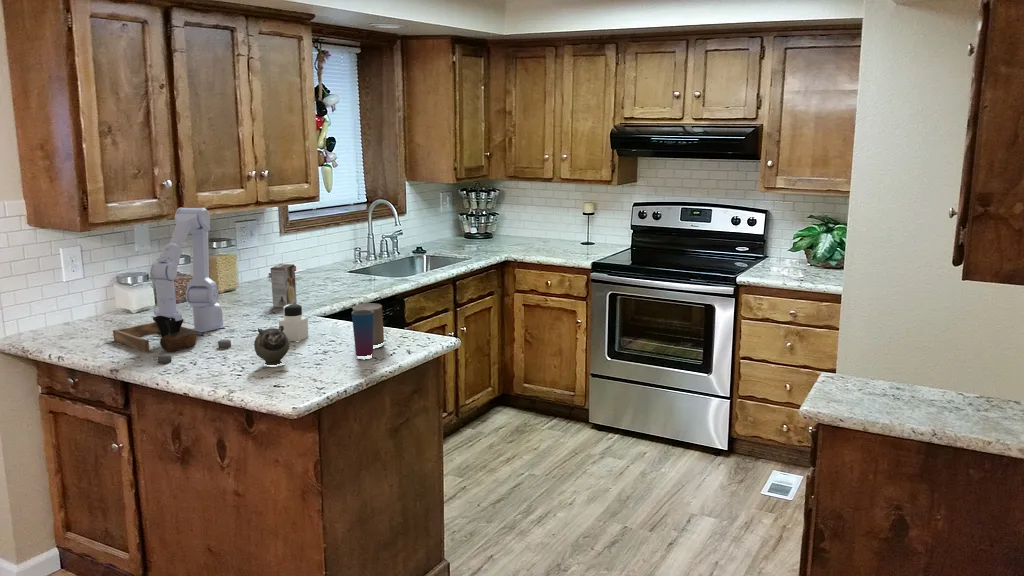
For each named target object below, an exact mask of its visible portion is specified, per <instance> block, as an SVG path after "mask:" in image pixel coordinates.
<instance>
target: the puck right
mask: <svg viewBox="0 0 1024 576" xmlns="http://www.w3.org/2000/svg"><path fill="white" fill-rule="evenodd" d="M217 346H218V347H219V348H218V349H220V348H225V349H230V348H231V347H232V341H231V340H230V339H220V340H218V341H217ZM229 347H230V348H229Z"/></svg>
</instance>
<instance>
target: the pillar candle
mask: <svg viewBox="0 0 1024 576" xmlns="http://www.w3.org/2000/svg"><path fill="white" fill-rule="evenodd" d="M356 310H372V311H373V312H374V314H373V345H378V344H381V343H383V342H384V343H385V335H384V332H385V331H384V319H383V317H384V316H383V305H382V304H381V303H377V302H376V303H374V302H373V303H371V302H367V303H359V304H356V305H353V306H352V312H353V311H356Z"/></svg>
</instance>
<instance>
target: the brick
mask: <svg viewBox="0 0 1024 576" xmlns="http://www.w3.org/2000/svg"><path fill="white" fill-rule="evenodd" d="M197 337H198V336H197V333H196V331H195V332H193V331H192V330H191V329H189V330H185V331H180V332H176V333H172V334H168V335H165V336H164V337H162V336H161V338H160V339H159V343H160V344H159V345H160V346H161V349H162V350H163V351H164V352H174V351H178V350H182V349H187V347H188V348H191V347H194V346H196V345H197V344H196V343H197Z"/></svg>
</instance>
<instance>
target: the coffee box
mask: <svg viewBox="0 0 1024 576" xmlns="http://www.w3.org/2000/svg"><path fill="white" fill-rule="evenodd" d="M295 270H296V269H295V264H293V263H292V264H291V263H290V264H289V263H279V264H278V265H275V266H272V267H270V279H271V280H270V281H271V293H272V294H271V295H272V307H274V308H283V307H284V306H286V305H289V304H297V301H298V300H297V285H296V284H297V283H296V273H295Z"/></svg>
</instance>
